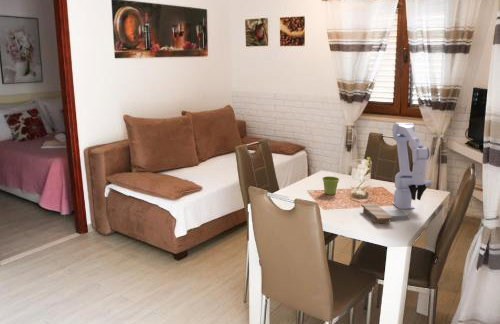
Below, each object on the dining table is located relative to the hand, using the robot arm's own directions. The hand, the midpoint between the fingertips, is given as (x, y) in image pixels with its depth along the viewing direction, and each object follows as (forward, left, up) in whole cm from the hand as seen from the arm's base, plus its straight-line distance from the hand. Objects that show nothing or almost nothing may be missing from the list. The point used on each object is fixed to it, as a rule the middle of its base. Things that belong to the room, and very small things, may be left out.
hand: (415, 199), depth 219 cm
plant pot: (-40, -29, -9) cm, 50 cm away
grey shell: (0, -10, -8) cm, 13 cm away
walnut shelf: (0, -19, -8) cm, 21 cm away
